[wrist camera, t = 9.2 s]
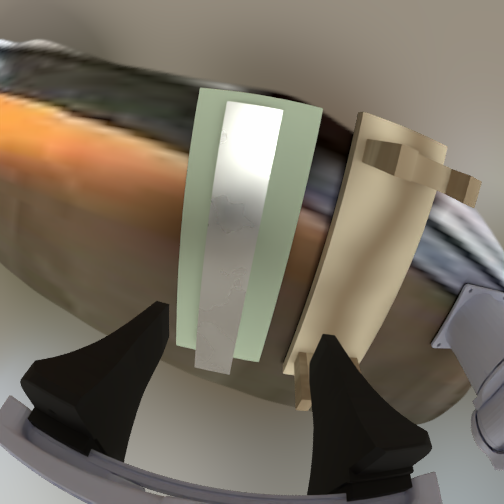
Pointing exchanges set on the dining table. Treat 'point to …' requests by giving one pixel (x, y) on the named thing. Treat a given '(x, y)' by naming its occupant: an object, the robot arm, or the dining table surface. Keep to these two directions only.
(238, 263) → the rail
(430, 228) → the dining table surface
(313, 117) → the mat
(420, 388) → the dining table surface
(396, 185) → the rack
